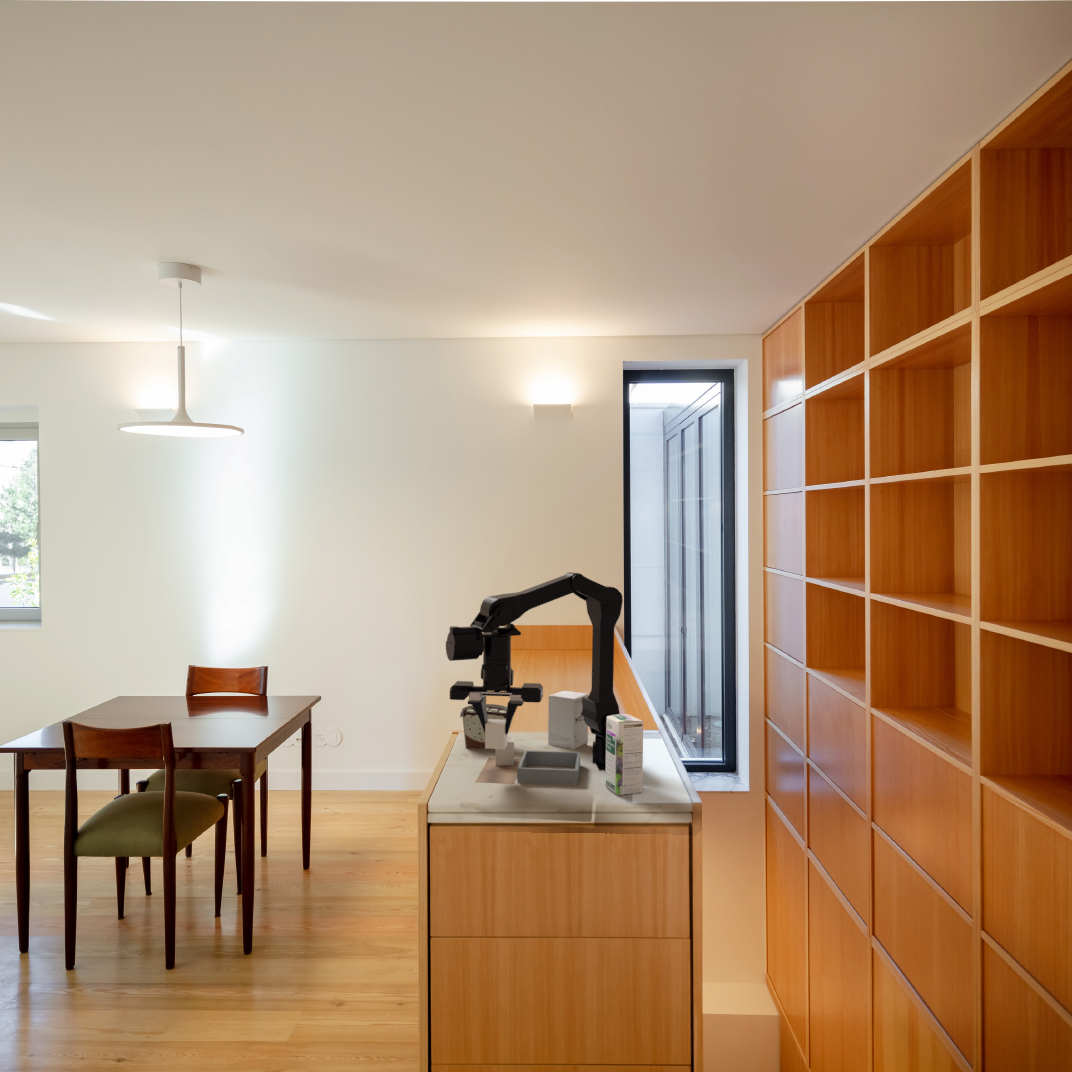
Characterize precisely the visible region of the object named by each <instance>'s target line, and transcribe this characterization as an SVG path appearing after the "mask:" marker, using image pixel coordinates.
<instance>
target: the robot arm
mask: <svg viewBox="0 0 1072 1072" xmlns="http://www.w3.org/2000/svg"><path fill="white" fill-rule="evenodd" d="M571 594H574V595H575V596H576V597H578V598H579V599H581V600H583V601H585V604H586V612H587V615H588V618H589V620H590V622H591V627H592V648H591V649H592V650H591V651H592V652H591V653H592V654H591V689H590V692H589V693H588V698H584V697H583V698H582V707H583V708H582V713H581V715H582V716H584V721H585V723H586V724H587V725H588V728H589V729H590V732H591V734H593V735H595V737H594V738H595V739H594V741H593V742H592V763H593V764H595V765H596V767H597V769H600V770H601V769H602V770H606V722H607V716H611V715H617V714H620V706H619V703H618V701H617V699H616V698H617V697H616V695H615V693H614V671H615V670H614V668H615V667H614V664H615V663H614V662H615V660H614V659H615V627H616V625H617V622H618V621H619V619H620V617H621V615H622V614H621V612H622V606H623V600H624V599H623V594H622V592H620V590H619V589H617V588H616V587H614V586H607V585H606V586H605V585H603V584H601V583H598V582H596V581H594V580H592V579H590V578H588V577H586V576H585V575H583V574H581V573H579V572H566V573H565V574H563V575H560V576H559V577H555V578H553V579H550V580H548V581H545V582H542V583H540V584H537V585H535V586H532V587H529V588H526V589H523V590H521V591H518V592H510V593H501V594H497V595H496V594H495V595H491V596H488V597H485V598H484V599H483V600H482V603H481V604H480V609H479V610H480V611H479V612H478V614H477V615H476V616H475V618H474V619H473V621H472V622H471V623H470V625H469V626H457V625H456V626H455V625H454V626H450V627H449V632H448V634H447V639H446V640H445V651H446V652H445V654H446V656H447V659H448V661H450V662H451V661H452V662H453V661H467V660H469V661H470V660H477V659H479V657H480V656H482V655H483V656H482V658H483V659H482V660H483V661H482V663H483V664H481V669H480V679H482V685H479V686H478V685H474V684H475V683H474V681H467V680H466V681H464V680H461V681H460V680H457V681H455V683H454V684H453V685H451V687H450V688H449V700H451V701H452V700H453V701H464V700H466V699H467V698H468V700H467V705H470V706H471V705H472V706H473V707H474V709H475V711H476V713H477V715H478V717H479V719H480V722H481V725H482V727H483V730H484V732H485V724H486V722H487V710H486V704H487V697H488V696H489V697H509V701H508V702H507V705H506V707H507V715H506V726H505V730H506V734H509V731H510V729H511V725H512V723H513V720H514V719H513V718H514V715H515V714H516V711H517V709H518V707H521V706H523V704H524V703H541V702H542V700H543V697H544V686H543V685H542V684H541V683H538V682H537V683H534V682H533V683H531V682H524V683H523V685H522V686H521V687H519V686H518V687H515V686H514V687H512V686H513V685H514V674H515V673H514V672H515V671H514V669H512V637H513V636H514V637H515V636H516V637H517V636H521V635H522V632H521V631H520V630H519V629H518V628H517V627H516V626H515V624H514V623H513V622H515V621H517V620H518V619H520V618H521V617H522V616H523V615H524V614H525V613H527V612H528V611H531V610H532V609H534V608H537V607H540V606H543V605H545V604H547V603H549V602H552V601H555V600H557V599H561V598H564V597H565V596H567V595H571Z"/></svg>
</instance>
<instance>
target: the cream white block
mask: <svg viewBox="0 0 1072 1072" xmlns="http://www.w3.org/2000/svg"><path fill="white" fill-rule="evenodd" d="M494 751H495V752H494V753H495V754H494V755H495V757H494V758H495V765H514V758H515V739H514V736H508V738H507V746H506V747H505V749H494Z"/></svg>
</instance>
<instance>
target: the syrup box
mask: <svg viewBox="0 0 1072 1072" xmlns="http://www.w3.org/2000/svg"><path fill="white" fill-rule="evenodd" d="M643 756H644V720H643V719H639V718H637V717H636V716H634V715H631V714H627V713H626V714H625V713H624V714H623V713H622V714H617V715H611V716H607V722H606V769H605V779H604V780H605V781H604V783H605V787H606V789H609V790H610V791H611V792H612V793H614V794H615V795H617V796H618V795H621V796H624V795H623V794H628V795H632V794H631V793H634V794H638V793H642V792H643V771H644V768H643V765H644V762H643V761H644V760H643V759H644V757H643Z"/></svg>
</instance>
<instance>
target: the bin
mask: <svg viewBox="0 0 1072 1072" xmlns="http://www.w3.org/2000/svg"><path fill="white" fill-rule="evenodd" d="M520 759H521V761H520V763H519V766H518V768H517V778H516V780H517V781H516V782H517V783H521V784H522V783H524V784H525V783H526V784H544V785H545V784H549V785H568V786H578V782H579V777H580V771H581V770H580V769H581V752H578V751H576V752H575V751H554V750H553V751H552V750H549V751H548V750H529V749H528V750H527V749H526V750H524V751H523V754H522V756H521V758H520ZM528 765H534V766H535V765H537V766H541V765H542V766H561V767H562V766H564V767H574V769H567V768H566V769H565V768H564V769H562V768H542V767H541V768H540V767H527V766H528Z"/></svg>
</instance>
